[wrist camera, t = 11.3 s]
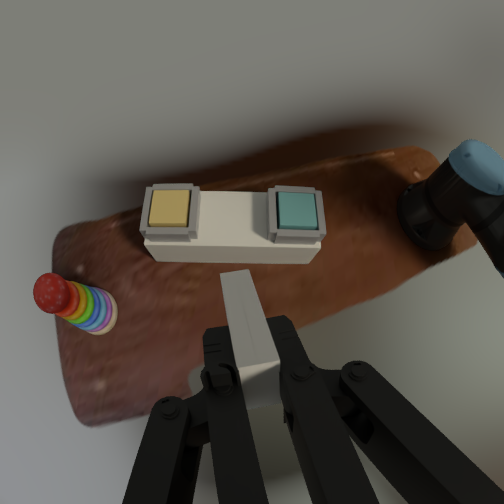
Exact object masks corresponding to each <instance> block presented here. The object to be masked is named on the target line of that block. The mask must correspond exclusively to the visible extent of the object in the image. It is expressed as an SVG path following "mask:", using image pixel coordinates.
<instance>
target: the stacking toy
mask: <svg viewBox="0 0 504 504" xmlns="http://www.w3.org/2000/svg"><path fill="white" fill-rule="evenodd" d="M33 295H34V300H35V302H36V304H37V305H38V307H39V308H40V309H41V310H43V311H44V312H46V313H51V314H56V315H57V316H60V317H62V318H64V319H66V320H67V321H68V322H70V323H71V324H73V325H74V326H77V327H78V328H80V329H83V330H85V331H87V332H88V333H90V334H93V335H102V334H105V333H107V332H108V331H110V330H111V329H112V328H113V326H114V325H115V323H116V320H117V315H118V309H117V304H116V302H115V300H114V298H113V297H112V295H111V294H110V293H108V292H107V291H105V290H103V289H100V288H97V287H89V286H86V285H83V284H79V283H77V282H74V281H67V280H64V279H63V278H62V277H61V276H60V275H58V274H55V273H46V274H43V275H42V276H40V277H39V278H38V279H37V281H36V283H35V285H34V289H33Z"/></svg>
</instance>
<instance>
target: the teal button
mask: <svg viewBox="0 0 504 504" xmlns="http://www.w3.org/2000/svg"><path fill="white" fill-rule="evenodd" d="M276 217H277V229H291V230H315V229H316V227H317V219H316V209H315V200H314V194H308V193H290V192H279V193H278V196H277V199H276Z"/></svg>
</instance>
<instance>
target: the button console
mask: <svg viewBox="0 0 504 504" xmlns="http://www.w3.org/2000/svg"><path fill="white" fill-rule="evenodd" d="M154 190H189V193H190V198H191V205H190V216H189V227H151V226H150V224H149V218H150V211H151V204H152V198H153V192H154ZM279 192H290V193H308V194H314V200H315V209H316V219H317V227H316V229H315V230H291V229H277V217H276V199H277V196H278V193H279ZM139 231H140V232H141V234H142V235H143V236H144V238H145V242H144V245H145V247H146V248H147V249H148V251H149V252H150V253H151V255H152V256H153V257H154V259H155V260H156V261H163V262H209V263H269V264H308V263H309V262H310V261H311V260H312V259H313V257H314V256H315V255H316V254H317V252H318V251H319V250H320V249H321V240H322V239H323V238H324V236H325V235H326V226H325V217H324V208H323V200H322V192H321V191H315V188H312V187H296V186H277V185H275V187H274V188H268V192H267V193H264V192H227V191H200V188H199V187H193V184H153V187H147V188H146V193H145V199H144V204H143V210H142V216H141V223H140V230H139Z"/></svg>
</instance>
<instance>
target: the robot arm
mask: <svg viewBox="0 0 504 504" xmlns="http://www.w3.org/2000/svg"><path fill="white" fill-rule="evenodd" d="M397 211H398V217H399V220H400V223H401V225H402V227H403V229H404V231H405V232H406V234H407V235H408V236H409V238H410V239H411V240H412V241H413V242H414V243H416V244H417V245H418V246H420V247H422V248H424V249H426V250H431V251H435V250H439V249H441V248H443V247H444V246H446V245H448V244H449V243H450V242H451V240H452V239H453V237H454V235H455V234H456V233H457V231H458V229H459V228H460V226H461V225H463V224H464V223H467V225H468V226H469V227H470V229H471V230H472V232H473V233H474V235H475V236H476V238H477V239H478V240H479V242H480V243H481V245H482V247H483V248H484V250H485V251H486V253H487V254H488V256H489V258H490V259H491V261H492V262H493V264H494V266H495V268H496V269H497V271H499V273H500V274H501V276H502V277H503V278H504V160H503V159H502V158H501V157H500V155H499V154H498V153H497V152H495V150H493V149H492V148H491V147H490V146H488V145H487V144H485V143H483V142H480V141H477V140H472V139H471V140H466V141H464V142H462V143H461V144H460V145H459V146H458V147H457V148H456V149H454V150H452V151H451V153H450V154H449V157H448V158H447V159H446V160H445V161H444V162H443V163H442V164H441V165H440V166H439V167H438V168H437V169H436V170H435V171H434V172H433V173H432V174H431V175H430V176H429V177H428V178H427V179H425V180H422V181H419V182H417V183H414V184H412V185H410V186H408V187H407V188H406V189H405V190H404V191H403V192H402V194H401V195H400V197H399V199H398V204H397ZM220 277H221V283H222V290H223V296H224V303H225V309H226V315H227V321H228V326H222V327H215V328H208V329H206V331H205V333H204V335H203V349H204V362H205V367H204V369H203V370H202V371H201V376H200V377H201V380H202V384H203V386H204V387H203V389H202V390H201V391H200V392H199V393H198V394H196V395H194V396H192V397H190V398H187V399H185V400H182V399H181V398H178V397H175V396H170V397H165V398H162V399H160V400H159V401H157V402H156V403H155V405H154V406H153V408H152V411H151V414H150V417H149V420H148V423H147V426H146V429H145V432H144V435H143V438H142V441H141V444H140V447H139V450H138V453H137V456H136V459H135V463H134V466H133V469H132V473H131V476H130V479H129V482H128V486H127V489H126V492H125V496H124V499H123V503H122V504H192V503H193V497H194V492H195V487H196V481H197V476H198V470H199V465H200V459H201V454H202V449H203V445H204V444H206V443H209V442H210V443H211V451H212V459H213V466H214V474H215V481H216V487H217V494H218V500H219V504H269V502H268V499H267V495H266V491H265V487H264V483H263V479H262V475H261V470H260V466H259V462H258V458H257V453H256V449H255V445H254V440H253V436H252V432H251V427H250V423H249V418H248V413H247V410H248V409H254V408H259V407H264V406H270V405H274V404H279V403H281V400H282V403H283V406H284V423H287V426H288V429H289V432H290V435H291V438H292V442H293V445H294V448H295V451H296V454H297V457H298V461H299V464H300V467H301V470H302V473H303V476H304V479H305V482H306V485H307V488H308V491H309V495H310V497H311V501H312V503H313V504H379V502H378V499H377V497H376V495H375V492H374V490H373V488H372V486H371V484H370V481H369V479H368V477H367V475H366V472H365V470H364V468H363V466H362V463H361V462H360V459H359V457H358V455H357V452H356V450H355V448H354V446H353V443H352V441H351V439H350V437H351V438H352V439H353V441H354V442H355V443H356V444H357V445H358V447H359V448H360V449H361V450H362V451H363V452H364V454H365V455H366V456H367V457H368V458H369V459H370V461H371V462H372V463H373V464H374V465H375V466H376V468H377V469H378V470H379V471H380V472H381V473H382V474H383V476H384V477H385V478H386V479H387V480H388V481H389V482H390V484H391V485H392V486H393V487H394V488H395V489H396V490H397V491H398V493H400V495H401V496H402V497H403V498H404V499H405V500H406V501H407V502H408V504H504V491H502V490H501V489H500V488H499V487H498V486H497V485H496V484H495V483H494V482H493V481H492V480H491V479H490V478H489V477H488V476H487V475H486V474H484V472H482V471H481V470H480V469H479V468H478V467H477V466H476V465H475V464H474V463H473V462H472V461H471V460H470V459H469V458H468V457H467V456H466V455H464V453H462V452H461V451H460V450H459V449H458V448H457V447H456V446H455V445H454V444H453V443H452V442H451V441H450V440H449V439H448V438H447V437H445V435H444V434H443V433H441V432H440V431H439V430H438V429H437V428H436V427H435V426H434V425H433V424H432V423H431V422H430V421H429V420H428V419H427V418H426V417H425V416H424V415H423V414H421V413H420V412H419V411H418V410H417V409H416V408H415V407H414V406H413V405H412V404H411V403H410V402H409V401H408V400H407V399H405V397H404V396H403V395H402V394H400V393H399V392H398V391H397V390H396V389H395V388H394V387H393V386H392V385H391V384H390V383H389V382H388V381H387V380H386V379H385V378H384V377H383V376H382V375H381V374H380V373H378V372H377V371H376V370H375V369H374V368H373V367H372V366H371V365H369V364H368V363H366V362H363V361H351V362H348V363H347V364H345V365H344V366H343V367H342V370H325V369H321V368H318V367H316V366H315V365H314V364H312V363H311V362H310V360H309V358H308V356H307V354H306V352H305V350H304V347H303V345H302V343H301V341H300V339H299V337H298V334H297V332H296V331H295V328H294V325H293V323H292V321H291V320H290V319H288V318H287V317H286V316H285V315H282V316H277V317H271V318H265V316H264V313H263V310H262V307H261V304H260V301H259V298H258V295H257V292H256V290H255V287H254V284H253V281H252V278H251V275H250V272H249V269H247V270H241V271H234V272H227V273H221V274H220ZM349 436H350V437H349Z"/></svg>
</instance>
